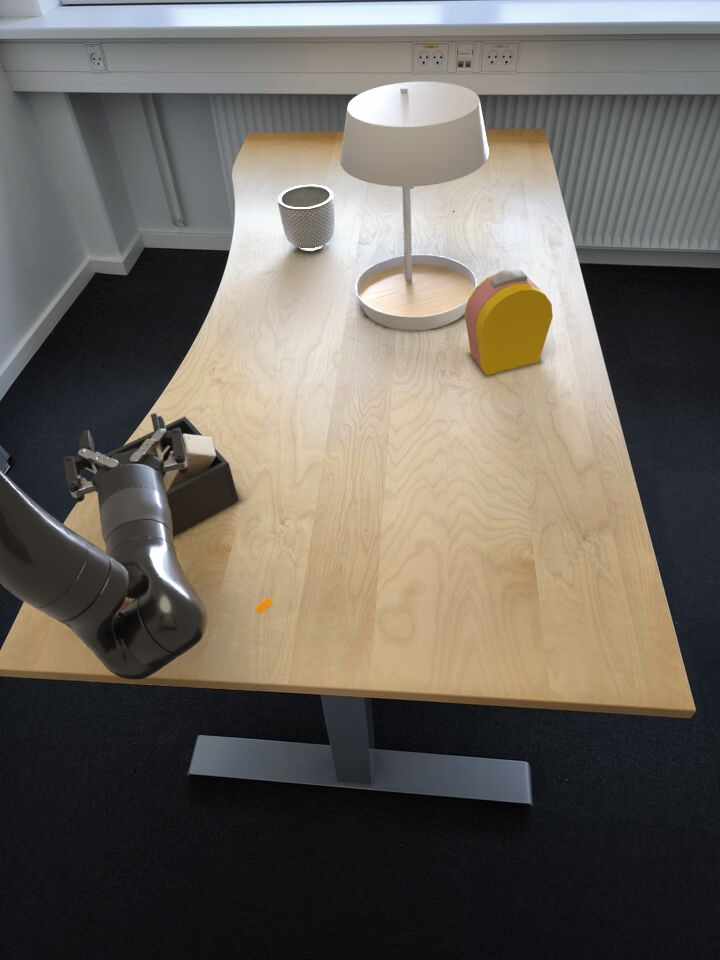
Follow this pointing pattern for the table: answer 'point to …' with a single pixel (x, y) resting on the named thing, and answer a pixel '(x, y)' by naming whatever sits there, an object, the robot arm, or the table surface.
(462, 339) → the table surface
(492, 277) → the alarm clock
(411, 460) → the table surface
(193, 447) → the box
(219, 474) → the bin
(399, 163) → the lamp
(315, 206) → the planter
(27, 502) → the robot arm
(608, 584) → the table surface
